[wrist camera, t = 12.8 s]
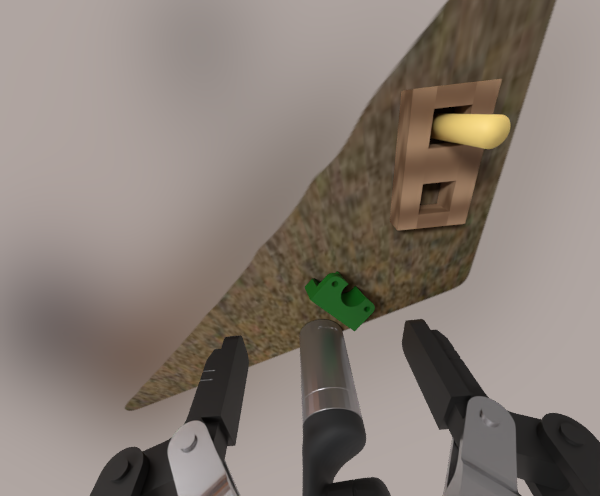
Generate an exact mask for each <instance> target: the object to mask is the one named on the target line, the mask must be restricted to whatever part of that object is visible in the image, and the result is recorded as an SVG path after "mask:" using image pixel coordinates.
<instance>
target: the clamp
mask: <svg viewBox="0 0 600 496" xmlns="http://www.w3.org/2000/svg"><path fill="white" fill-rule="evenodd" d="M347 285H348V283H347V282H346V280H345V279H344V278H343V277H342V276H341V274H340V273H339V272H336V273H330V274H328V275H327V276H326V277H325V278H324V279H323V280H322V281H321V283H319V282H318V281H316V280H315V279H313V278H312V279H311V281H310V282H309V283H308V284H307V285H306V286H305V289H306V291H307V294H308V296H309V298H310V300H311V301H313V302H314V303H315V304H317V305H318V306H320V307H321V308H322V309H324V310H325V311H327V312H328V313H329V314H331V315H332V316H334V317H335V318H337V319H338V320H339V321H341V322H342V323H344V324H345V325H346V326H348V327H349V328H351V329H352V330H353V331H355V330H356V329H357V328H358V327H359V326H360V325H361V324H362V323H363V322H364V321H365V320H366V319H367V318H368V317H369V316H370V315H371V314H372V313H373V312H374V309H375V306H374V304H373V303H372V302H371V301H370V300H369V299H368V298H367V297H365V296H364V295H363V294H362V292H361V291H360V290H359V289H358V288H357V287H356V286H355V287H354V288H353V289H352V290H351V291H350V292H348V293H344V294H341V293H342V290H343V289H344V288H345V287H346V286H347Z"/></svg>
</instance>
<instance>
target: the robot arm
mask: <svg viewBox="0 0 600 496" xmlns="http://www.w3.org/2000/svg"><path fill="white" fill-rule="evenodd" d="M402 347H403V351H404V354H405V357H406V359H407V361H408V363H409V365H410V367H411V369H412V372H413V374H414V376H415V378H416V380H417V383H418V385H419V387H420V389H421V391H422V393H423V395H424V398H425V400H426V402H427V404H428V406H429V408H430V411H431V413H432V415H433V417H434V419H435V421H436V424H437V426H438V428H439V430H441V429H449V431H450V432H451V435H452V437H453V438H452V443H451V449H450V456H449V462H448V469H447V475H446V482H445V487H444V492H443V496H521V495H520V494H519V493H518V489H517V478H520V479H523V480H525V482H526V484H527V485H528V487H529V489H530V491H531V492H532V494H533V495H534V496H600V442H599V441H598V440H597V439H596V437H595V436H594V435H593V434H592V433H591V432H590V431H589V430H588V429H587V428H585V427H584V426H583V425H582V424H580V423H578V422H577V421H575V420H574V419H572V418H570V417H567V416H565V415H562V414H558V413H549V414H546V415H545V416H544V417H543V418H542V420H541V419H537V418H533V417H528V416H524V415H519V414H516V413H512V412H509V411H507V410H506V409H505V408H504V407H503V406H502V405H500V404H499V403H497V402H496V401H494V400H492V399H490V398H489V397H488V396H487V395H486V394H485V393H484V391H483V390H482V389H481V387H480V385H479V384H478V382H477V381H476V380H475V378H474V377H473V375H472V374H471V373H470V371H469V369H468V368H467V366H466V365H465V363H464V362H463V361H462V360H461V359H460V356H459V355H458V353H457V352H456V351H455V350H454V347H453V346H452V344H451V343H450V342H449V340H448V339H447V338H446V337H445V336H444V335H443V334H441V333H440V332H439V331H438V330H430V328H429V327H428V325H427V324H426V322H425V321H424V320H423V319H418V320H408V321H406V322H405V327H404V333H403V339H402ZM300 361H301V362H300V363H301V391H302V416H303V447H302V449H303V450H302V455H303V496H391V495H390V493H389V491H388V489H387V487H386V485H385V484H384V483H383V482H382V481H381V480H380V479H379V478H374V477H371V478H361V479H355V480H349V481H342V482H336V483H333V480H334V477H335V475H336V474H337V472H338V471H339V470H340V468H341V467H342V466H343V465H344V464H345V463H346V462H348V461H349V460H350V459H351V458H353V457H354V456H356V455H357V454H358V453H359V452H360V451H361V450H362V449H363V447H364V446H365V443H366V433H365V428H364V424H363V420H362V415H361V411H360V407H359V402H358V398H357V394H356V389H355V385H354V381H353V376H352V372H351V368H350V363H349V359H348V354H347V350H346V346H345V341H344V336H343V332H342V329H341V327H340V326H339V325H338V324H337V323H335V322H333V321H330V320H315V321H312V322H310V323H308V324H306V325H305V326H304V327H303V328H302V330H301V332H300ZM248 365H249V360H248V354H247V351H246V348H245V344H244V341H243V338H242V336H230V337H225V339H224V341H223V345H222V348H221V349H215V350H214V351H213V352H212V354H211V355H210V356H209V358H208V359H207V361H206V364H205V367H204V370H203V371H204V372H203V373H202V376H201V379H200V382H199V385H198V388H197V391H196V394H195V397H194V400H193V403H192V406H191V408H190V412H189V415H188V417H187V420H186V422H185V424H184V425H183V426H181V427H180V428H179V429H178V430H177V431H176V433H175V434H174V435H173V437H172V438H170V439H169V440H167V441H165V442H163V443H161V444H158V445H156V446H154V447H152V448H150V449H147V450H145V451H143V452H142V451H141V450H140V449H139V448H137V447H129V448H126V449H124V450H122V451H120V452H119V453H117V454H116V455H115V456H114V457H113V458H112V459H111V460H110V461H109V462H108V463H107V464H106V466H105V467H104V469H103V470H102V472H101V474H100V476H99V478H98V480H97V482H96V484H95V486H94V488H93V490H92V492H91V494H90V496H240V494H239V492H238V489H237V487H236V484H235V482H234V480H233V478H232V475H231V473H230V471H229V468H228V466H227V464H226V461H225V454H226V449H227V446H234V445H235V444H236V438H237V432H238V425H239V420H240V414H241V408H242V402H243V396H244V389H245V384H246V378H247V372H248Z"/></svg>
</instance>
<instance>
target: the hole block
mask: <svg viewBox="0 0 600 496" xmlns="http://www.w3.org/2000/svg"><path fill="white" fill-rule="evenodd" d="M501 81H502V79H496V80H487V81H478V82H470V83H461V84H452V85H444V86H435V87H426V88H418V89H410V90H405V91H401V102H400V113H399V124H398V135H397V146H396V158H395V169H394V180H393V191H392V202H391V213H390V222H391V223H392V224H393V226H394V227H395V228H396V229H397V230H398V231H399V230H408V229H418V228H428V227H438V226H448V225H457V224H465V221H466V218H467V214H468V210H469V206H470V202H471V198H472V194H473V190H474V186H475V182H476V178H477V175H478V171H479V167H480V163H481V159H482V155H483V151H484V148H479V147H474V146H469V145H464V144H459V143H454V142H445V143H436V144H429V141H430V134H431V127H432V121H433V114H434V109H437V108H445V107H454V106H455V109H454V114H493V112H494V108H495V104H496V100H497V96H498V92H499V89H500V85H501ZM438 182H441V185H440V190H439V195H438V201H437V204H428V205H420V201H421V194H422V187H423V184H429V183H438Z"/></svg>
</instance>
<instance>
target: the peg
mask: <svg viewBox="0 0 600 496" xmlns="http://www.w3.org/2000/svg"><path fill="white" fill-rule="evenodd" d="M509 131H510V120H509V119H508V117H506V116H505V115H493V114H443V113H437V114H434V115H433V121H432V127H431V134H430V138H433V139H438V140H444V141H449V142H454V143H459V144H464V145H469V146H474V147H479V148H484V149H492V148H495V147H497V146H498V145H500V144H501V143H502V142H503V141H504V140H505V139H506V137H507V136H508V134H509Z"/></svg>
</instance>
